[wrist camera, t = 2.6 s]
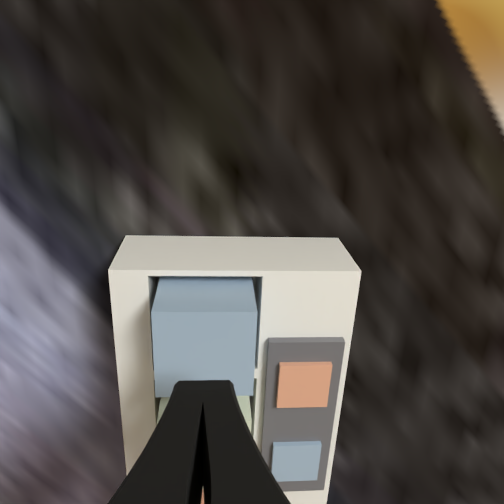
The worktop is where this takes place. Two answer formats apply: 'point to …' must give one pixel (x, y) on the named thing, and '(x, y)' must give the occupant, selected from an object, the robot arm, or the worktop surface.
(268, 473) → the robot arm
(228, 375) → the slate blue key
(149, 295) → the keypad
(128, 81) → the worktop surface
